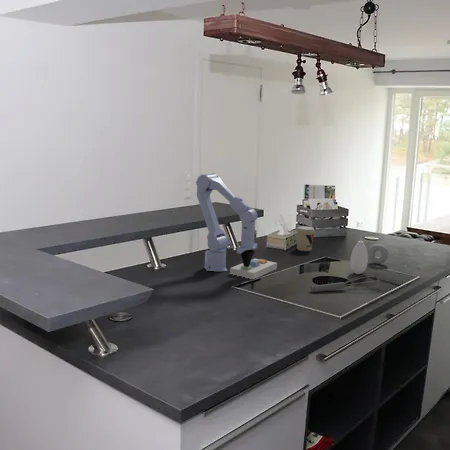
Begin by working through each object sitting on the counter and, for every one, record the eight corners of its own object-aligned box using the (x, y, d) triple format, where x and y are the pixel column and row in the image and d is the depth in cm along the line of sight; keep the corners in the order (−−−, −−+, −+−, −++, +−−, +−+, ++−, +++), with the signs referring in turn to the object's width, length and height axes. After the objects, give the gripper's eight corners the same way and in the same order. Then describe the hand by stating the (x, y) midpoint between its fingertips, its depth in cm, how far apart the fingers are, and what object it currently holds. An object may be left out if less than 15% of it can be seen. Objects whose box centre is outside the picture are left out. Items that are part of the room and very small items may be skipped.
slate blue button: (255, 269, 245) (255, 262, 245) (248, 267, 247) (248, 261, 246) (259, 267, 248) (259, 261, 248) (252, 265, 250) (252, 259, 249)
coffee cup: (307, 252, 288) (309, 230, 286) (292, 249, 294) (293, 227, 291) (316, 249, 295) (317, 227, 293) (301, 246, 301) (302, 225, 299)
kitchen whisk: (303, 290, 224) (304, 275, 223) (374, 286, 235) (375, 272, 233) (310, 295, 219) (311, 280, 217) (382, 290, 229) (383, 276, 228)
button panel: (253, 279, 236) (253, 273, 235) (229, 274, 242) (230, 268, 242) (276, 269, 254) (277, 262, 253) (254, 264, 260) (254, 258, 260)
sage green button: (247, 274, 240) (247, 267, 239) (240, 272, 241) (240, 266, 241) (251, 272, 243) (251, 265, 242) (244, 270, 244) (245, 264, 244)
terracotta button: (262, 267, 251) (263, 261, 251) (256, 266, 253) (256, 260, 252) (266, 266, 254) (267, 260, 254) (260, 265, 256) (260, 258, 255)
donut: (366, 263, 271) (368, 243, 269) (367, 261, 274) (369, 242, 272) (386, 266, 267) (388, 246, 265) (388, 264, 270) (389, 244, 268)
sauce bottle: (366, 276, 247) (370, 238, 243) (349, 275, 248) (352, 236, 245) (366, 272, 254) (369, 234, 251) (349, 270, 256) (352, 233, 252)
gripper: (247, 240, 231) (245, 271, 233) (263, 235, 243) (262, 264, 245) (233, 238, 234) (231, 268, 237) (250, 232, 246) (248, 261, 249)
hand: (246, 266), depth 241 cm, fingers closed, pressing on sage green button
